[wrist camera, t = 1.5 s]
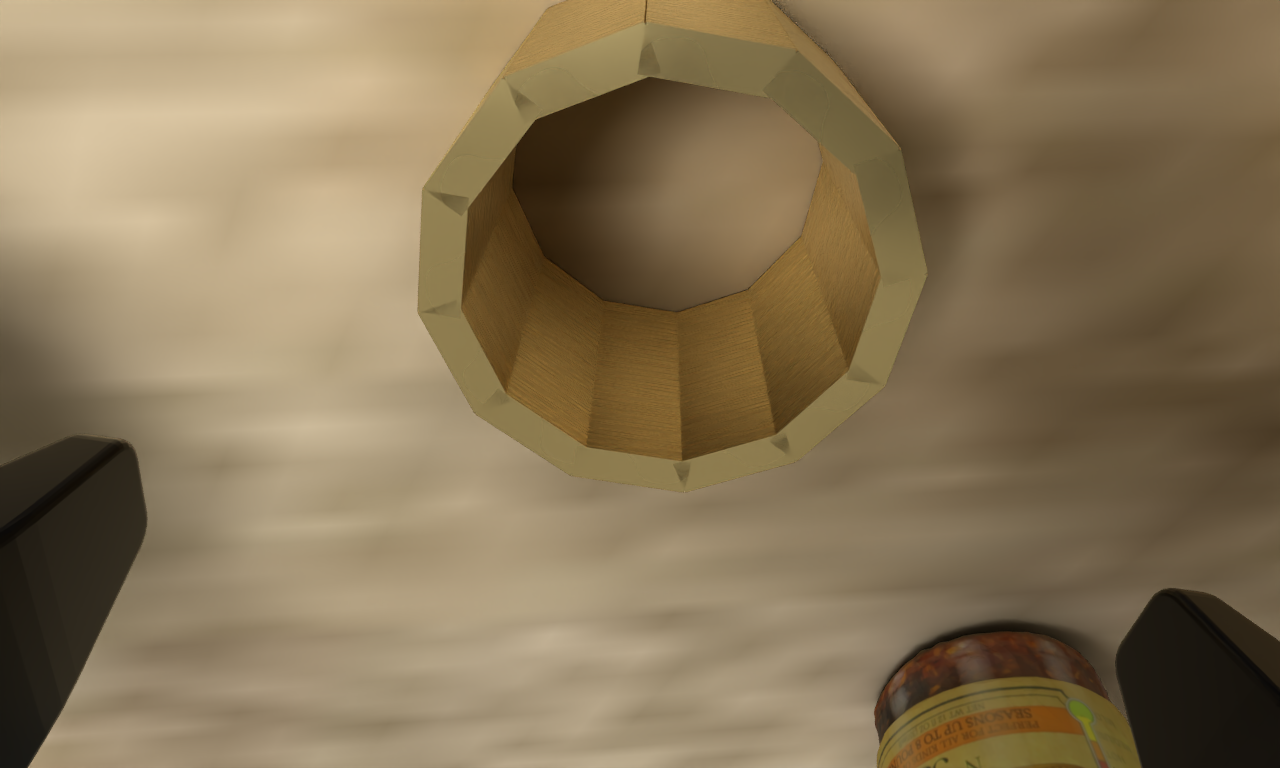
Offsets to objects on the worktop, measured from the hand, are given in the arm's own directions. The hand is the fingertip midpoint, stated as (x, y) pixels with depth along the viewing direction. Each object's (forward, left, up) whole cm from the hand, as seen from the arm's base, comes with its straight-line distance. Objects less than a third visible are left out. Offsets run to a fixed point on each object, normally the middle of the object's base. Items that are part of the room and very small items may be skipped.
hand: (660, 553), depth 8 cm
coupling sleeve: (0, 0, -10) cm, 10 cm away
